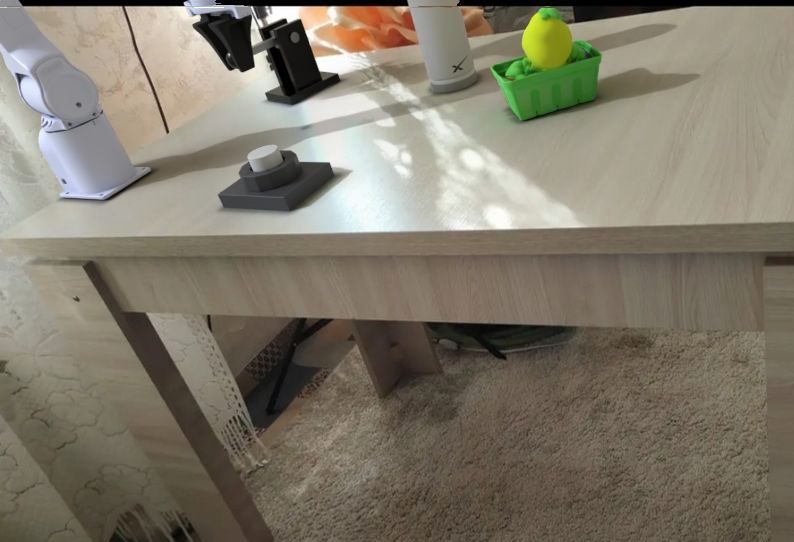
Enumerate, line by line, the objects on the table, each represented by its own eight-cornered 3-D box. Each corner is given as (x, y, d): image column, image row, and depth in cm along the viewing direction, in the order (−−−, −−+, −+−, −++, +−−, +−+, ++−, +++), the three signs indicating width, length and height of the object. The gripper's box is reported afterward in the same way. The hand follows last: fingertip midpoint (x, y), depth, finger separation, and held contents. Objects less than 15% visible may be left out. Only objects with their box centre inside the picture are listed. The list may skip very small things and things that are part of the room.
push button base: (223, 208, 85) (210, 179, 83) (270, 174, 91) (258, 146, 89) (290, 211, 81) (277, 181, 78) (335, 176, 86) (324, 146, 84)
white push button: (247, 173, 83) (240, 158, 82) (267, 159, 86) (261, 144, 85) (270, 174, 82) (263, 159, 81) (290, 159, 84) (284, 144, 83)
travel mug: (474, 89, 99) (433, -83, 87) (426, 96, 101) (380, -71, 89) (484, 71, 104) (446, -94, 92) (438, 79, 106) (395, -82, 94)
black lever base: (292, 105, 111) (265, 35, 105) (267, 100, 115) (240, 34, 110) (340, 81, 115) (318, 13, 109) (315, 77, 120) (291, 12, 114)
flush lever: (237, 73, 106) (228, 51, 104) (227, 71, 108) (218, 50, 106) (301, 44, 111) (293, 22, 109) (290, 43, 113) (282, 22, 111)
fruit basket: (588, 80, 92) (573, -19, 86) (614, 102, 85) (600, -5, 79) (497, 108, 92) (475, 10, 85) (516, 132, 84) (494, 27, 78)
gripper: (252, -47, 97) (292, 61, 105) (200, -43, 106) (240, 55, 114) (203, -29, 93) (249, 81, 101) (154, -27, 103) (199, 73, 111)
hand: (242, 69), depth 108 cm, fingers closed on flush lever, 3 cm apart
